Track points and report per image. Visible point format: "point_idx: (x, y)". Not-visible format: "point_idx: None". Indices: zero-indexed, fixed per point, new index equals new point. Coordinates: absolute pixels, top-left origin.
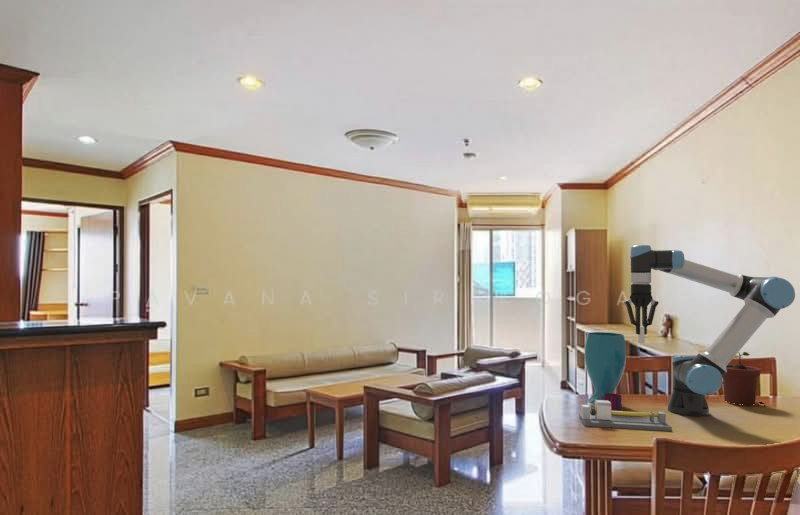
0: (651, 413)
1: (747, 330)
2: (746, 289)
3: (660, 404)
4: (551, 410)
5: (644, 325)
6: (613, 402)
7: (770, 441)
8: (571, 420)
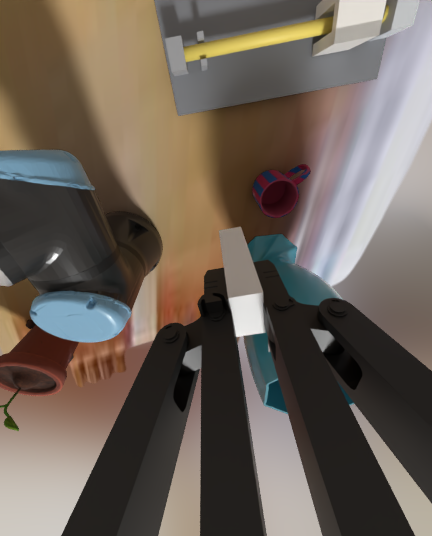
0: (203, 45)
1: None
2: None
3: (173, 278)
4: (409, 141)
5: (228, 302)
6: (277, 175)
7: None
8: (407, 28)
